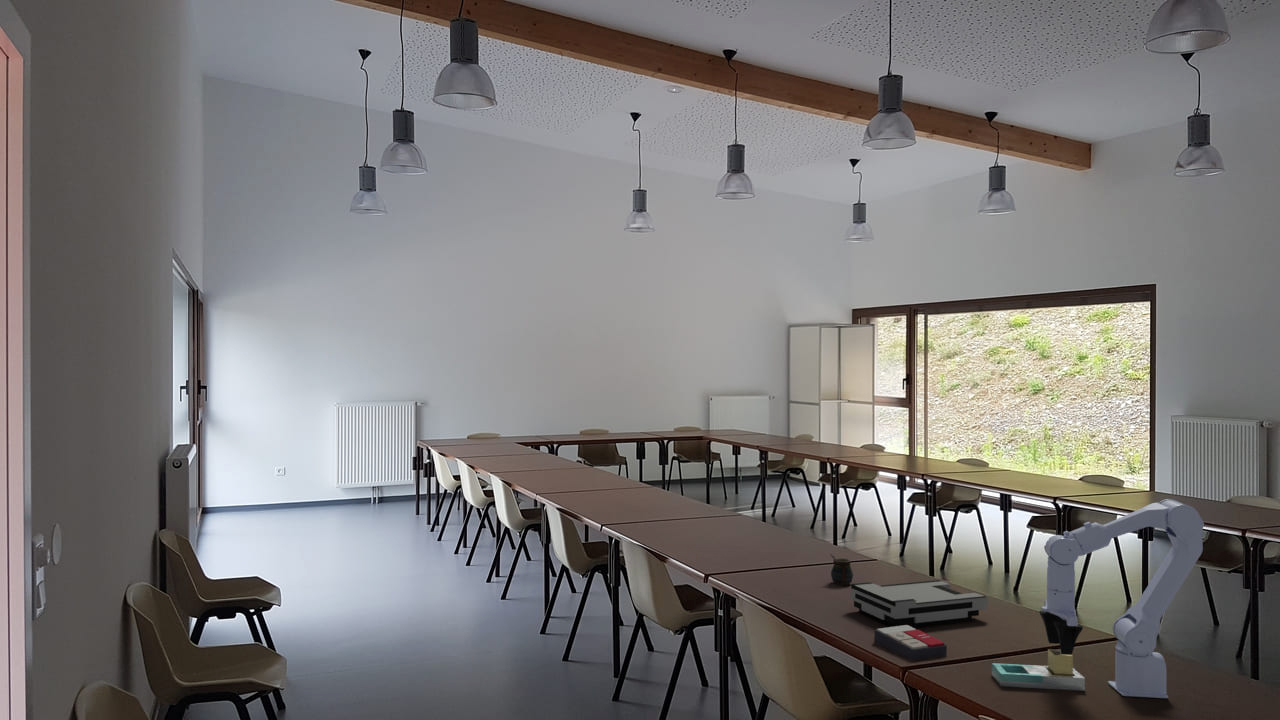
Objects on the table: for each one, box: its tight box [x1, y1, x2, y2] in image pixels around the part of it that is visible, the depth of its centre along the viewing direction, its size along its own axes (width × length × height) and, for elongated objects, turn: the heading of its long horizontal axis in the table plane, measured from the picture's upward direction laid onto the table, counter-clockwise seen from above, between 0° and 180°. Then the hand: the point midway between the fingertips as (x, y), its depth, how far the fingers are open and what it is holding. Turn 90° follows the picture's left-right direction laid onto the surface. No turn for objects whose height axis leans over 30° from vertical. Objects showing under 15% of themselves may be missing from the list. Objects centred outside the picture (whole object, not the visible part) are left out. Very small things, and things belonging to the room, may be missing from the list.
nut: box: [1047, 648, 1074, 676], centre depth 192 cm, size 4×4×6 cm
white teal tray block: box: [991, 662, 1086, 692], centre depth 193 cm, size 18×7×3 cm, turn 83°
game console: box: [850, 579, 989, 629], centre depth 245 cm, size 21×32×8 cm, turn 110°
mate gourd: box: [829, 553, 854, 586], centre depth 281 cm, size 7×8×10 cm
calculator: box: [873, 625, 948, 661], centre depth 215 cm, size 11×4×15 cm
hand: (1060, 648), depth 192 cm, fingers open, 7 cm apart
